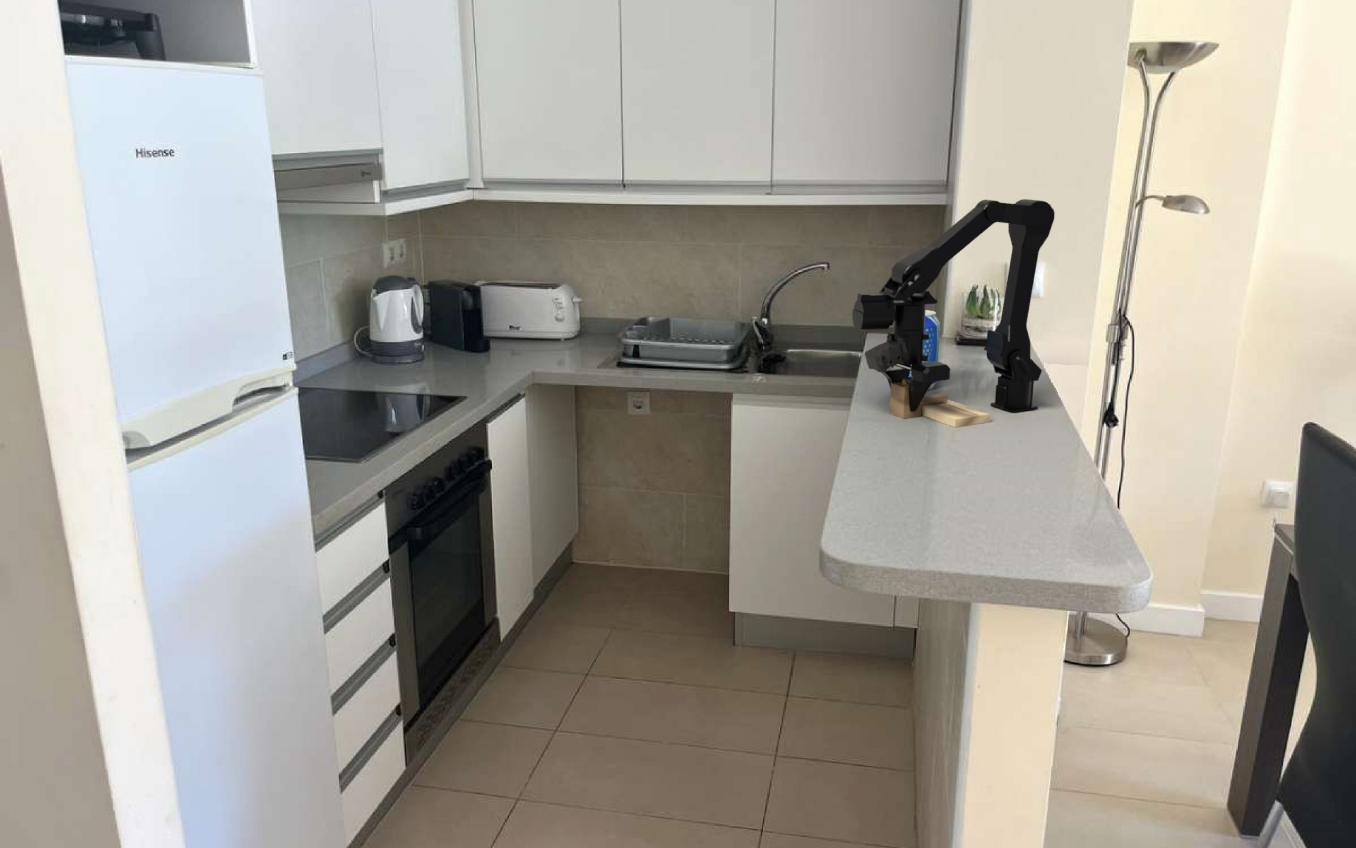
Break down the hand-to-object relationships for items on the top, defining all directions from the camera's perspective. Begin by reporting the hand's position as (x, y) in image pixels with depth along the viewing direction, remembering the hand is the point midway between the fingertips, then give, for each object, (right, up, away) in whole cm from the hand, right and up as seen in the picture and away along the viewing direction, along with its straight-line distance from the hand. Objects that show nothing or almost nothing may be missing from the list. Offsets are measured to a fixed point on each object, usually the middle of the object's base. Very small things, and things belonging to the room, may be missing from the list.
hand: (905, 408), depth 191 cm
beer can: (+7, +5, +22) cm, 24 cm away
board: (+8, -1, 0) cm, 8 cm away
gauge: (+3, -1, +2) cm, 4 cm away
